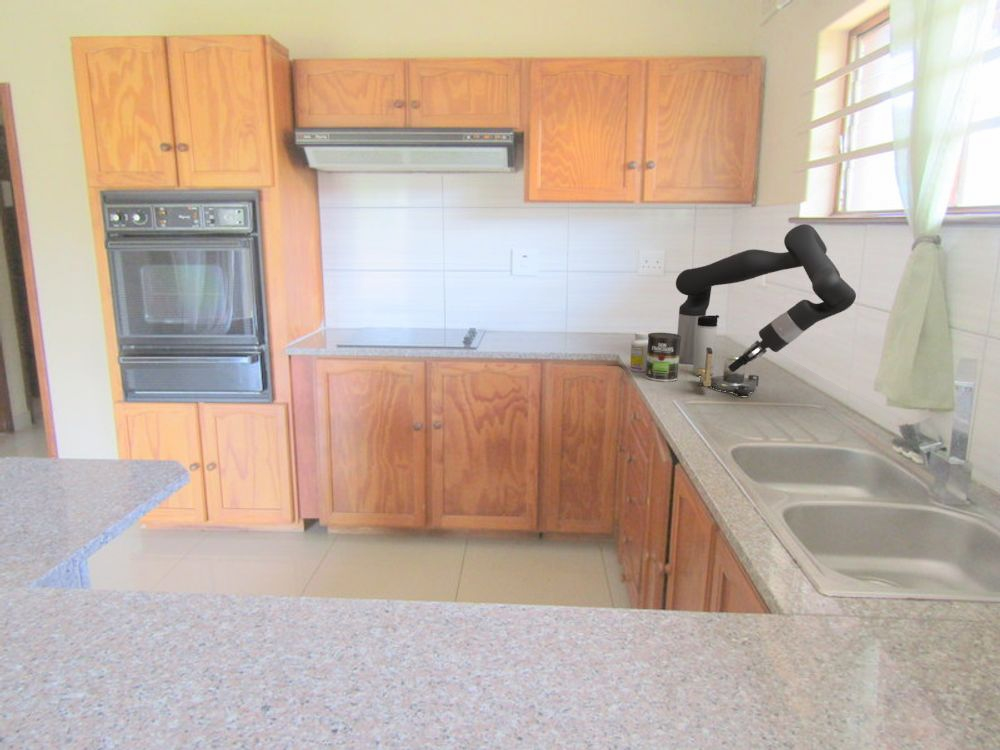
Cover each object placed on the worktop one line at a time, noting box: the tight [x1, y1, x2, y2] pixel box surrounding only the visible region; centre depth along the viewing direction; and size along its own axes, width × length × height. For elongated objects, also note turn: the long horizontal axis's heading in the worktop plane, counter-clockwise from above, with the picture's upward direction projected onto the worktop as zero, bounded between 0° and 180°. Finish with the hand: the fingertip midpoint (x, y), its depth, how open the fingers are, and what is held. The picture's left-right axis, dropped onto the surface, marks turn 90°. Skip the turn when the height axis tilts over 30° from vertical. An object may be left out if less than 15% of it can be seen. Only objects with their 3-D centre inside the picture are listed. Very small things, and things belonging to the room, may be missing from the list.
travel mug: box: [692, 314, 720, 377], centre depth 216 cm, size 6×7×20 cm
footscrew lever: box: [696, 348, 713, 387], centre depth 198 cm, size 17×4×10 cm, turn 167°
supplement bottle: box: [629, 331, 650, 373], centre depth 223 cm, size 7×7×13 cm
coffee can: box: [645, 332, 681, 383], centre depth 212 cm, size 10×10×14 cm
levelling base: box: [699, 355, 760, 397], centre depth 201 cm, size 19×16×10 cm
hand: (730, 369), depth 189 cm, fingers closed
